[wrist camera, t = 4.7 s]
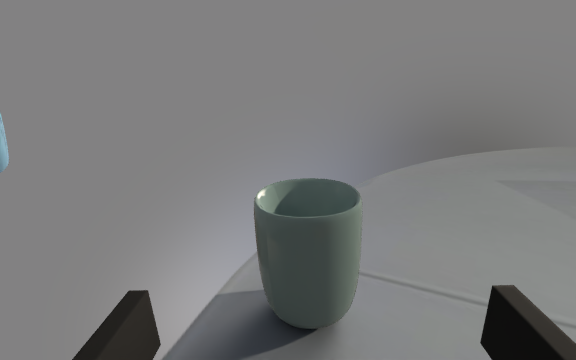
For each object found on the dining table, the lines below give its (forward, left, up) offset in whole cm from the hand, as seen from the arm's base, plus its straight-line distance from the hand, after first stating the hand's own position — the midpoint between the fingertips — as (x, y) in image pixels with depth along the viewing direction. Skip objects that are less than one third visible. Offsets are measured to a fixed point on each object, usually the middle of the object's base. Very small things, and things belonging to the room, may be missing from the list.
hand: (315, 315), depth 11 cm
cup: (0, +10, -9) cm, 14 cm away
